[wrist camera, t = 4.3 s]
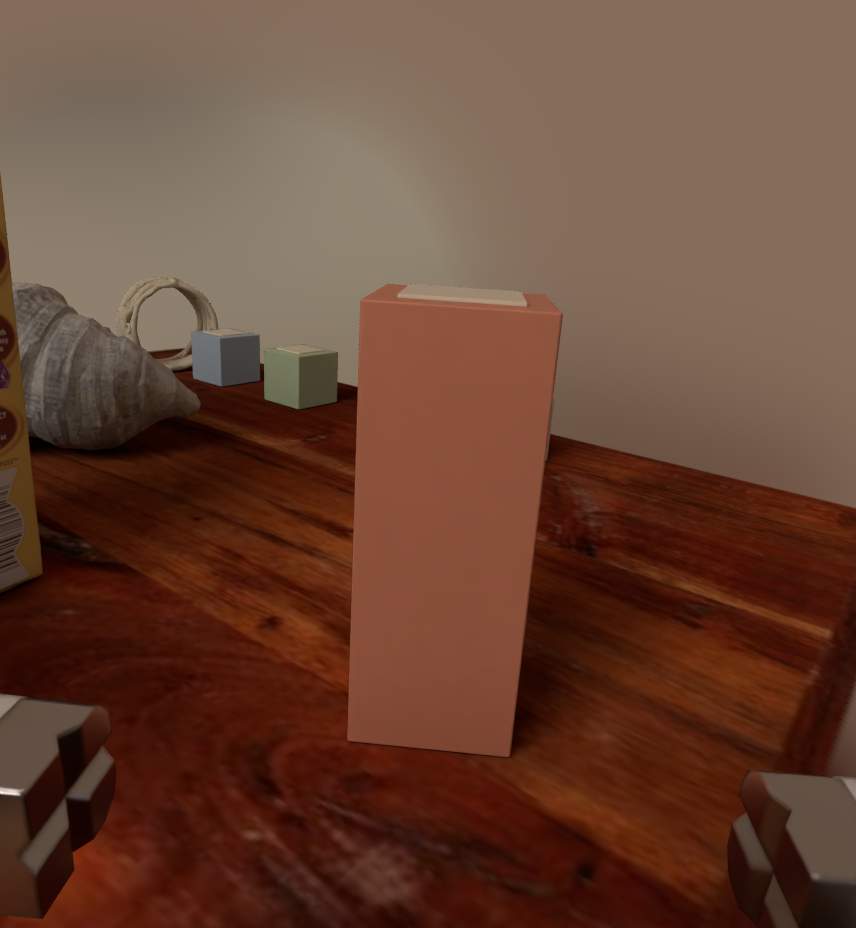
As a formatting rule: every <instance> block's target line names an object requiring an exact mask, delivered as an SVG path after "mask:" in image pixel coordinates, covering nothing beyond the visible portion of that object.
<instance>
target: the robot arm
mask: <svg viewBox="0 0 856 928" xmlns="http://www.w3.org/2000/svg"><path fill="white" fill-rule="evenodd" d="M111 733H112V729H111V722H110V715H109V711H108V710H107V709H106V708H104V707H103V706H101V705H94V704H86V703H78V702H70V701H62V700H53V699H45V698H37V697H24V696H16V695H7V694H0V916H11V917H23V918H36V919H43V918H44V916H45V914H46V913H47V911H48V910H49V908H50V907H51V905H52V904H53V902H54V901H55V899H56V897H57V896H58V894H59V893H60V891H61V890H62V888H63V887H64V885H65V883H66V882H67V880H68V879H69V877H70V876H71V874H72V873H73V871H74V862H73V854H72V852H74V851H76V850H77V849H79V848H80V847H82V846H84V845H85V844H87V843H88V842H90V841H91V840H93V839H94V838H95V836H96V835H97V833H98V831H99V830H100V828H101V827H102V825H103V823H104V822H105V820H106V818H107V815H108V812H109V809H110V806H111V803H112V800H113V797H114V792H115V783H116V767H115V760H114V759H113V758H112V757H111V755H110V754H109V753H108V752H107V751H106V749H105V748H104V747H103V746H102V745H103V744H104V743H105V741H106V740H107V739H108V737H109V736H110V734H111ZM739 796H740V799H741V801H742V803H743V806H744V808H745V810H746V812H745V813H744V814H743V815H742V816H741V817H739V818H738V819H737V820H736V821H734V822H733V823H732V825H731V830H730V835H729V840H728V845H727V853H728V872H729V877H730V882H731V886H732V890H733V893H734V896H735V898H736V901H737V904H738V907H739V909H740V910H741V911H742V912H743V913H744V914H745V915H746V916H747V917H748V918H750V919H751V920H752V921H753V922H754V923H755V924H756V925H757V928H856V778H855V777H841V776H833V777H828V776H817V775H807V774H796V773H785V772H774V771H763V770H752V769H749V771H748V772H747V774H746V775H745V777H744V778H743V781H742V785H741V789H740V792H739Z"/></svg>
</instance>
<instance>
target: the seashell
mask: <svg viewBox="0 0 856 928" xmlns="http://www.w3.org/2000/svg"><path fill="white" fill-rule="evenodd" d="M12 289H13V298H14V307H15V316H16V325H17V334H18V345H19V352H20V361H21V371H22V382H23V391H24V399H25V409H26V418H27V426H28V435H29V436H31V437H36V438H41V439H43V440H45V441H47V442H50V443H52V444H54V445H55V446H57V447H59V448H64V449H68V448H72V449H84V450H87V451H95V450H102V449H112V448H115V447H118V446H120V445H122V444H123V443H125V442H126V441H127V440H129V439H131V438H133V437H134V436H136V435H137V434H139V433H140V432H142V431H144V430H145V429H147V428H148V427H150V426H151V425H153V424H154V423H156V422H158V421H160V420H163V419H166V418H169V417H177V418H186V417H188V416H190V415H193V414H196V413H198V412H199V408H200V405H201V403H200V401H199V400H198V398H197V394H195V393H193V392H192V391H190V390H189V389H188V388H187V387H186V386H184V385H183V384H182V383H181V382H180V381H179V380H178V379H177V378H176V377H175V375H174V373H173V372H172V371H171V370H170V369H169V368H168V367H166V366H164V365H162V364H160V363H159V362H157V361H156V360H154V359H153V357H152V356H151V355H150V354H149V353H148V352H147V351H146V350H145V349H144V348H141V347H140V346H138V345H137V344H136V343H134V342H133V341H131V340H130V339H129V338H127V337H117V336H116V335H114V334H113V333H111V331H110V328H107V327H102V326H101V324H100V323H98V322H97V321H96V320H94V319H92V318H87V317H84V316H81V315H79V314H78V313H77V312H76V311H75V310H74V309H73V308H72V307H70V306H69V305H68V304H67V302H66V300H65V299H64V297H63V296H62V295H61V294H60V293H59V292H57V291H56V290H55V289H53V288H50V287H45V286H42V285H39V284H32V283H20V282H15V283H12Z"/></svg>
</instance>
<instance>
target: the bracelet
mask: <svg viewBox="0 0 856 928" xmlns="http://www.w3.org/2000/svg"><path fill="white" fill-rule="evenodd" d="M170 287H173V288H176V289H177V290H179V291H180V292H181V293H182V294H183V295H184V296H185V297H186V298H187V299H188V300H189V301H190V303H191V304H192V306H193V307H194V309H195V311H196V314H197V319H198V327H197V330H196V331H202V330H203V331H205V330H218V324H217V318H216V314H215V312H214V310H213V308H212V306H211V303H209V302H208V299H207V298H206V297H205V296H204V295H203V293H201V292H200V291H199V290H197V289H195V288H194V287H192V286H190V285H189V284H186V283H184V282H182V281H181V280H179V279H176V278H171V279H169V278H157V277H152V278H146V279H142V280H141V281H139V282H137V283H136V284H134V285H133V286H132V287H131V288H130V289H129V290H128V292H127V293H126V294H125V296H124V299H123V301H122V303H121V306H120V308H119V310H118V314H117V322H116V323H117V329H118V333H119V336H120V337H127V338H129V339H130V340H131V341H133V342H134V343H136V344H137V345H138V346H140V347H141V345H140V342H139V339H138V335H137V318H138V312H139V308H140V306H141V304H142V303H143V302H144V300H145V299H146V298H148V297H150V296H151V295H153V294H154V293H155V292H157V291H158V290H159V289H162V288H170ZM131 317H132V318H131ZM130 320H131V323H130ZM141 348H142V347H141ZM191 349H192V340H191V342H190V343H189V344H188V346H187V347H186V348H185V349H184V350H183V351H182V352H180V353H179V354H177V355H175V356H173V357H171V358H165V359H154V360H156V361H157V362H159V363H160V364H162V365H164V366H166V367H168V368H169V369H170V370H171V371H179V370H183V369H186V368H189V367H193V361H192V354H191V355H189V356H188V353H189V352H190V351H191Z"/></svg>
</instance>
